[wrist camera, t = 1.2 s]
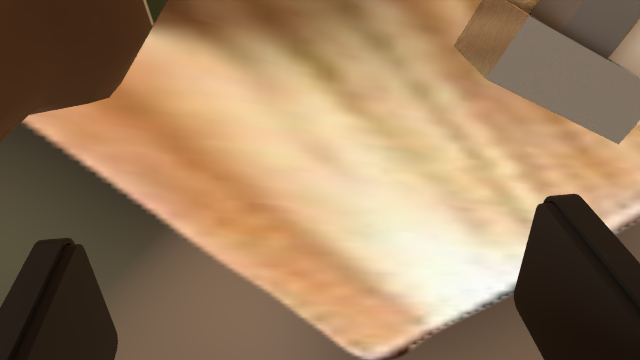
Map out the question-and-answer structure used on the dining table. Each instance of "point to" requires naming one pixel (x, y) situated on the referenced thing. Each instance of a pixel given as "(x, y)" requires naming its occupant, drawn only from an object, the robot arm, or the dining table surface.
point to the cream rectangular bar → (590, 21)
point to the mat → (629, 51)
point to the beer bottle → (66, 52)
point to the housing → (551, 69)
